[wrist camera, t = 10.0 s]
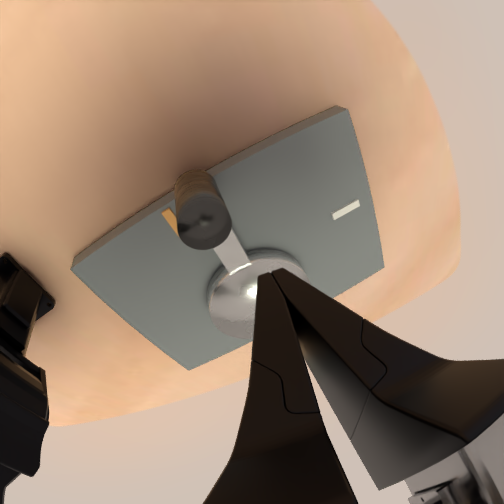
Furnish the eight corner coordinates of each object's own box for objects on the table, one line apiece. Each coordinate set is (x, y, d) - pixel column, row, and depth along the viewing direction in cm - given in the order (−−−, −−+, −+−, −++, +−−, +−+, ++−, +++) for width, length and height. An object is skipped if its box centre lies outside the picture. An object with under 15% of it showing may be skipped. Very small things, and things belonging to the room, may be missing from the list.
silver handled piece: (313, 297, 26) (336, 336, 22) (233, 337, 26) (246, 380, 23) (246, 140, 17) (271, 164, 13) (129, 204, 17) (120, 246, 13)
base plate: (187, 359, 29) (189, 372, 28) (74, 257, 20) (69, 271, 18) (376, 258, 28) (385, 268, 27) (336, 105, 18) (349, 109, 17)
